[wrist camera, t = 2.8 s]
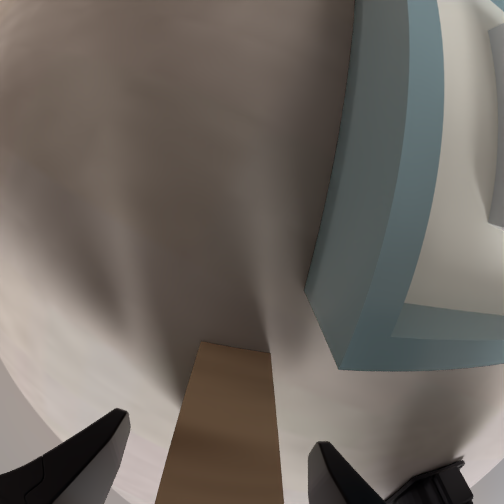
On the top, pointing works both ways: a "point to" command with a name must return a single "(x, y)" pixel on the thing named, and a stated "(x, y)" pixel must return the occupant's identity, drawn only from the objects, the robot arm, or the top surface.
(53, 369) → the top surface
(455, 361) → the candle dish
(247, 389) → the brown wooden block
